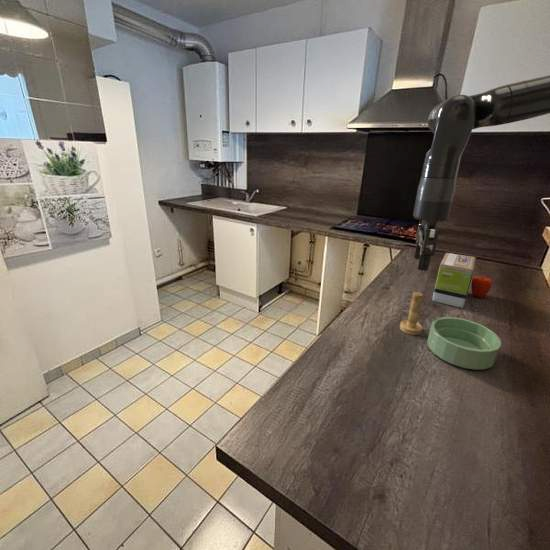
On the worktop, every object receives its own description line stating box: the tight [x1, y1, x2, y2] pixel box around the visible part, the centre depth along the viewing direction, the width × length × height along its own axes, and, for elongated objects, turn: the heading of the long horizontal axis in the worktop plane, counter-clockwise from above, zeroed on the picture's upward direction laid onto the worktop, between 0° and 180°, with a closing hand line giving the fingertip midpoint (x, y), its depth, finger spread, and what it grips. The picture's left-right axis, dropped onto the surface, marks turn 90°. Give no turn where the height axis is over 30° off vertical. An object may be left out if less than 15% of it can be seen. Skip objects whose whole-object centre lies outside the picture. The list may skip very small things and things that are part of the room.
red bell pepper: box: [470, 275, 493, 298], centre depth 107 cm, size 6×6×8 cm
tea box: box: [432, 252, 477, 309], centre depth 105 cm, size 15×10×15 cm
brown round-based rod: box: [399, 291, 424, 336], centre depth 86 cm, size 6×6×12 cm
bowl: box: [426, 316, 502, 370], centre depth 77 cm, size 16×16×6 cm
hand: (420, 264), depth 73 cm, fingers open, 8 cm apart
